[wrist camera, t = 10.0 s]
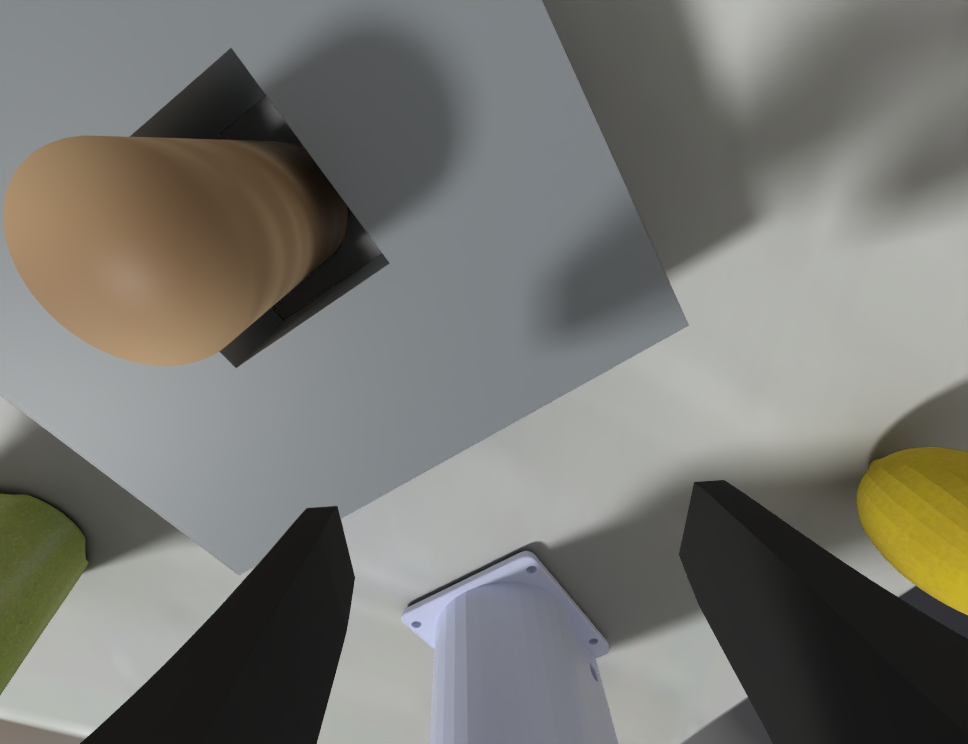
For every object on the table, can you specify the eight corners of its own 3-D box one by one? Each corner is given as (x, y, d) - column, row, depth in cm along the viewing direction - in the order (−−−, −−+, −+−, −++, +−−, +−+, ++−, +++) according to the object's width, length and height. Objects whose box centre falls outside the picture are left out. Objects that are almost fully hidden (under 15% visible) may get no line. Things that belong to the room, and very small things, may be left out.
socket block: (640, 287, 17) (688, 325, 13) (277, 500, 21) (239, 575, 17) (307, -398, 10) (219, -713, 6) (-162, 114, 13) (-389, 102, 10)
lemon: (793, 469, 21) (962, 632, 14) (905, 390, 20) (1161, 530, 12) (849, 525, 23) (1025, 694, 16) (956, 456, 21) (1205, 612, 14)
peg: (372, 226, 16) (299, 295, 8) (284, 289, 16) (149, 400, 9) (289, 113, 14) (112, 77, 7) (196, 189, 15) (-50, 229, 8)
